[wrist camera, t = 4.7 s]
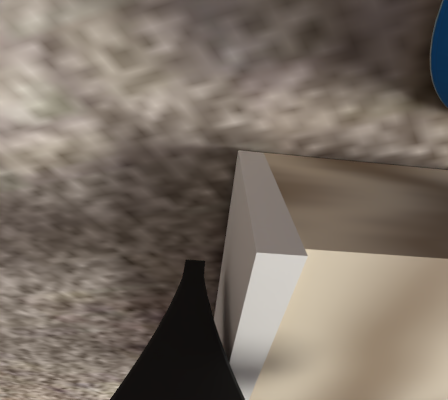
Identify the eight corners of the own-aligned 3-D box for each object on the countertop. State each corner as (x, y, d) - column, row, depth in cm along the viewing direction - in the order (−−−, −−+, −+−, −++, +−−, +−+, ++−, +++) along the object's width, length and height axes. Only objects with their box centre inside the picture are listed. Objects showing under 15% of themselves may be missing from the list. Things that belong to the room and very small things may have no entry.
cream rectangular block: (470, 172, 10) (684, 275, 5) (350, 337, 17) (399, 444, 12) (263, 152, 9) (304, 249, 5) (227, 331, 16) (230, 441, 12)
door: (263, 152, 9) (308, 256, 5) (226, 333, 16) (228, 448, 11) (238, 150, 9) (256, 252, 4) (211, 332, 16) (208, 448, 11)
